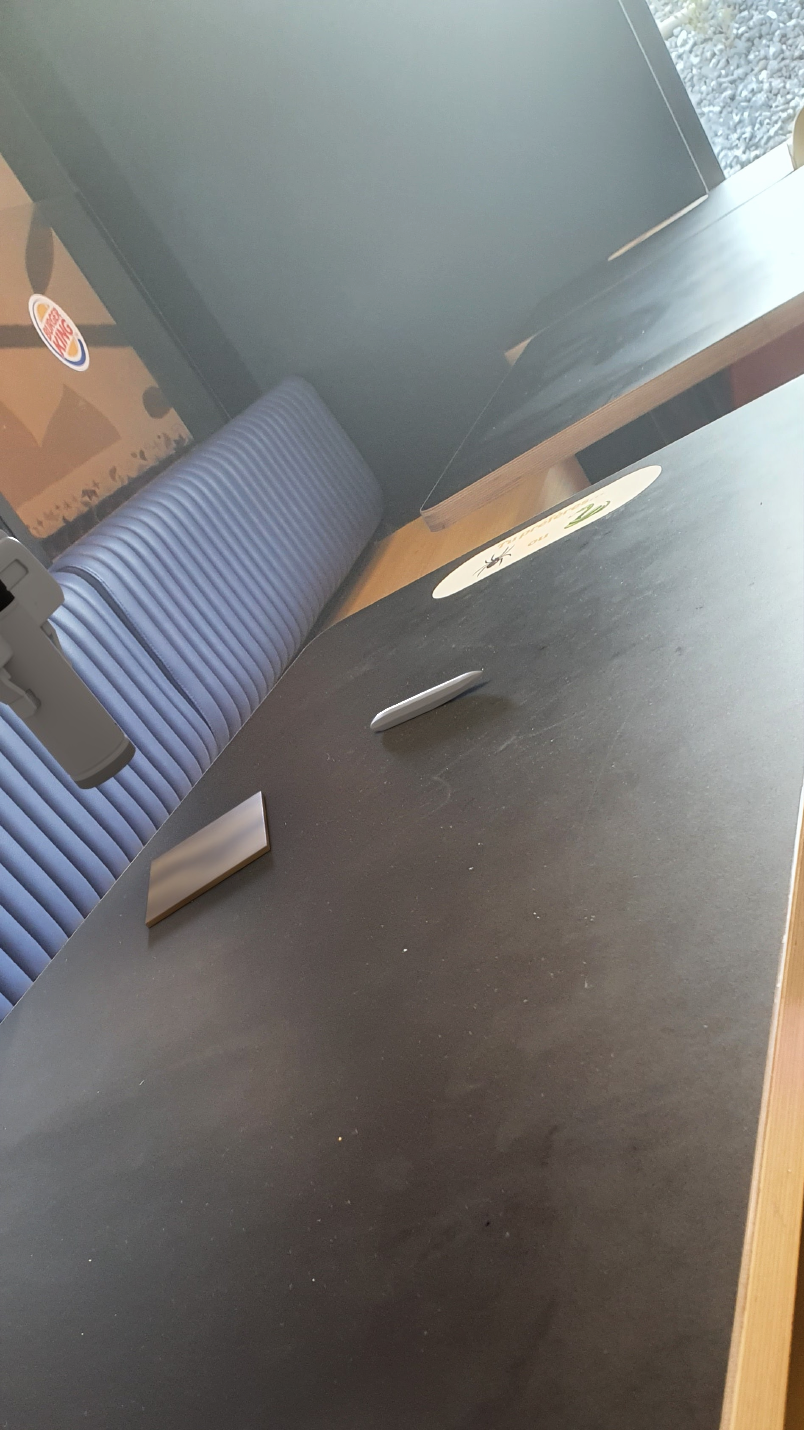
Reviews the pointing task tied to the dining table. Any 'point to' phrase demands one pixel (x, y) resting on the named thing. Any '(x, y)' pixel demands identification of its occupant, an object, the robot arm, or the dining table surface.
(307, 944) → the dining table surface
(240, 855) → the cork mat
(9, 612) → the travel mug
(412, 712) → the pen
